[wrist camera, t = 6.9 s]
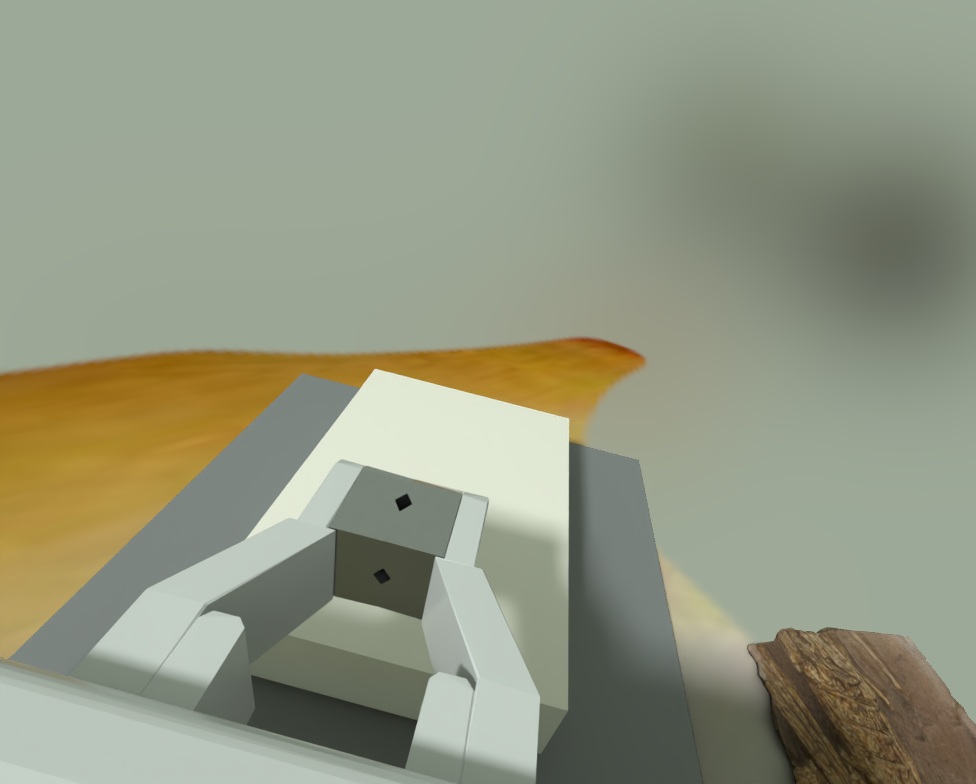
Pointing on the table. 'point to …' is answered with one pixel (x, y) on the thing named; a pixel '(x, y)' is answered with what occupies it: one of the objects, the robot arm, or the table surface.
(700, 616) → the table surface
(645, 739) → the mat
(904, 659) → the wooden fragment
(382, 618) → the tile
